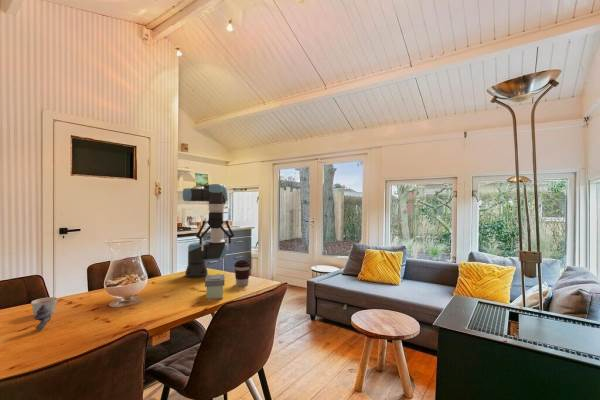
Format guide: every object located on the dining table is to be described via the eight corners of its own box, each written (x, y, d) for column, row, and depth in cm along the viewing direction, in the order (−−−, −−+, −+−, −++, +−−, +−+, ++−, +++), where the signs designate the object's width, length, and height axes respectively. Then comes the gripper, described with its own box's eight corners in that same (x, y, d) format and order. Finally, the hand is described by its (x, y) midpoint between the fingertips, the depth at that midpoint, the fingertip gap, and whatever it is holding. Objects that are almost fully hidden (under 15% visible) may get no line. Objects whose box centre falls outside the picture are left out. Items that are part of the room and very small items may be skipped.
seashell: (33, 329, 119) (34, 304, 119) (51, 325, 123) (51, 301, 123) (34, 333, 115) (35, 307, 115) (52, 329, 119) (52, 304, 119)
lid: (206, 282, 169) (206, 274, 169) (224, 281, 171) (224, 273, 171) (204, 288, 156) (205, 280, 156) (224, 287, 159) (224, 279, 159)
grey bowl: (60, 312, 137) (60, 299, 137) (35, 319, 129) (36, 304, 129) (52, 309, 141) (52, 296, 141) (27, 315, 133) (27, 301, 134)
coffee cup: (248, 287, 181) (248, 262, 181) (232, 286, 181) (232, 262, 181) (251, 282, 191) (251, 259, 191) (236, 282, 191) (236, 259, 191)
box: (207, 293, 168) (207, 280, 168) (222, 292, 170) (222, 279, 171) (206, 299, 157) (206, 286, 157) (222, 298, 159) (222, 285, 159)
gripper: (191, 211, 158) (190, 251, 157) (238, 211, 164) (238, 250, 163) (192, 211, 165) (192, 249, 164) (238, 211, 171) (237, 248, 171)
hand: (215, 250), depth 164 cm, fingers open, 13 cm apart
